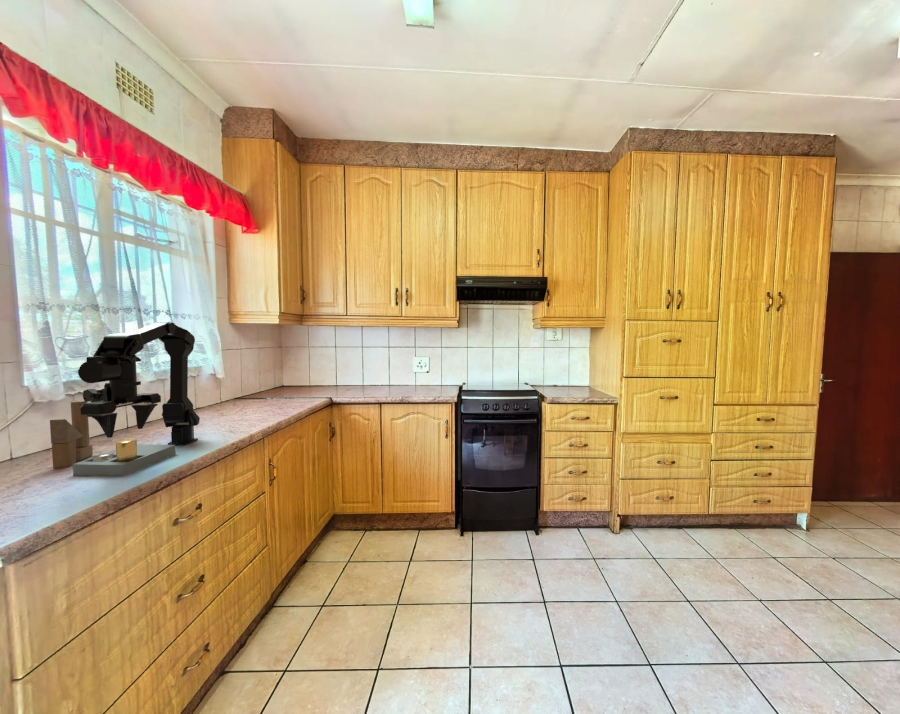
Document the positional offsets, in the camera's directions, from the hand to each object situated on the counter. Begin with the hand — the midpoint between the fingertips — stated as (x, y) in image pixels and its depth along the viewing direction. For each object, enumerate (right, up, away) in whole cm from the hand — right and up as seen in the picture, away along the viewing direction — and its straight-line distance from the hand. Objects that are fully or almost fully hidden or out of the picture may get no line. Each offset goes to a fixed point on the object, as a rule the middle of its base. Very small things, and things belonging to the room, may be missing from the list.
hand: (125, 432), depth 101 cm
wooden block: (-21, -10, +6) cm, 25 cm away
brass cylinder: (0, -11, +1) cm, 11 cm away
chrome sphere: (-7, -11, +1) cm, 13 cm away
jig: (-3, -10, +5) cm, 12 cm away
